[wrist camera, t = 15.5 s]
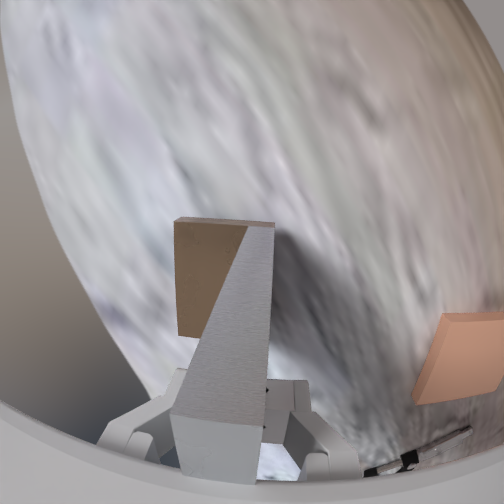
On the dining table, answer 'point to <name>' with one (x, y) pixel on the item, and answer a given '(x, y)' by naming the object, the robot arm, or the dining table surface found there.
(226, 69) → the dining table surface
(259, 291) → the bookend
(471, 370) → the tile
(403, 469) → the micrometer
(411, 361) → the dining table surface
